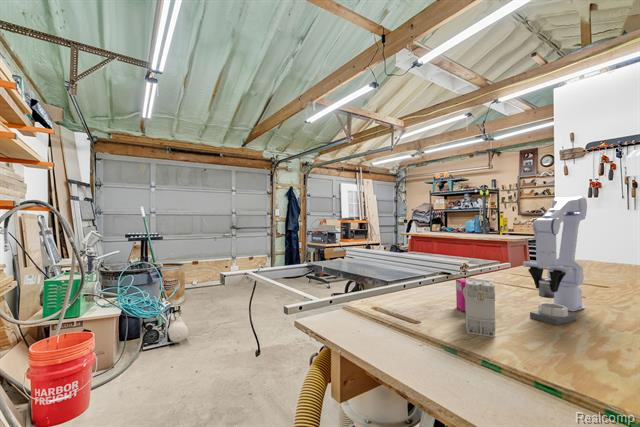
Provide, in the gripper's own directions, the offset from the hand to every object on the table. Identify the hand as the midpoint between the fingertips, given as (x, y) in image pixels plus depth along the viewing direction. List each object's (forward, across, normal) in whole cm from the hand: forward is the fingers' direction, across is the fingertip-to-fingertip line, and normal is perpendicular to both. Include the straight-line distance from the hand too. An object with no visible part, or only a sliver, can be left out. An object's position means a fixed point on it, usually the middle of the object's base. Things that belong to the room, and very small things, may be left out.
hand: (546, 289), depth 101 cm
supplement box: (+10, -17, -20) cm, 28 cm away
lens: (+2, 0, 0) cm, 2 cm away
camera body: (+10, +2, -1) cm, 10 cm away
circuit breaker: (+10, -3, -31) cm, 32 cm away
